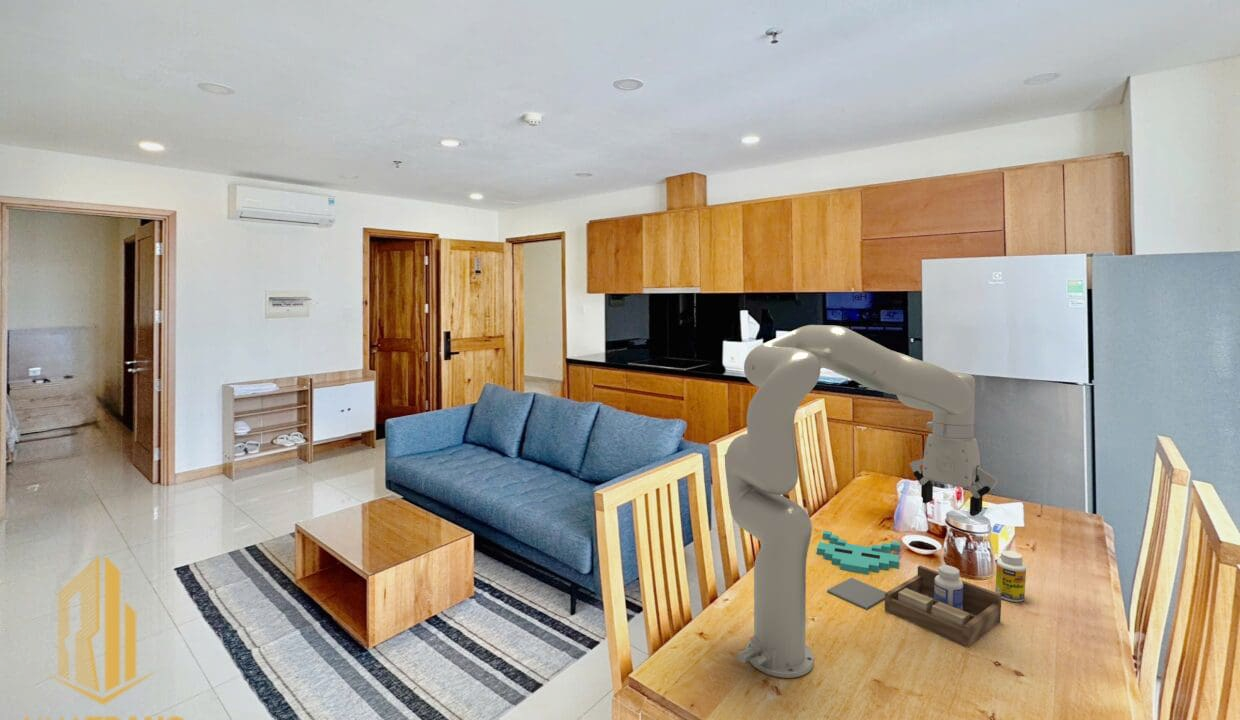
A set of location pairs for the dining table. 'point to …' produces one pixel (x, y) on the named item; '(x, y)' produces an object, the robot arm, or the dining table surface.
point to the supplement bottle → (1010, 576)
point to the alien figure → (858, 555)
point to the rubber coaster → (858, 593)
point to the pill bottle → (949, 586)
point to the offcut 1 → (916, 600)
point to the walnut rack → (973, 601)
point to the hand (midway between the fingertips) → (950, 507)
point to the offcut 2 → (950, 614)
